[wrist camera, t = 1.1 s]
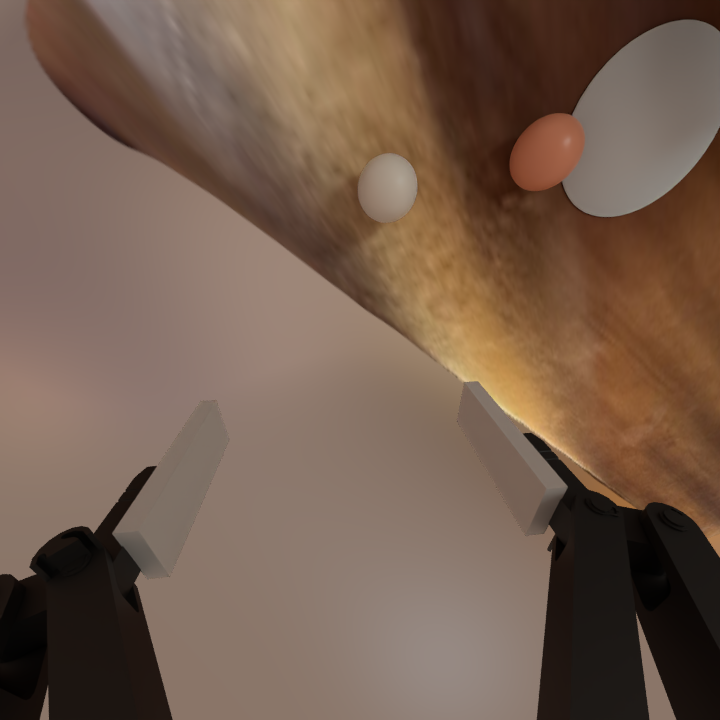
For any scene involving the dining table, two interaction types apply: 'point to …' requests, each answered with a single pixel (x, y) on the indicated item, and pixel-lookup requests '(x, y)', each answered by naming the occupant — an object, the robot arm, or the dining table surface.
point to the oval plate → (647, 118)
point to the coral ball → (547, 152)
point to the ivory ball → (387, 188)
